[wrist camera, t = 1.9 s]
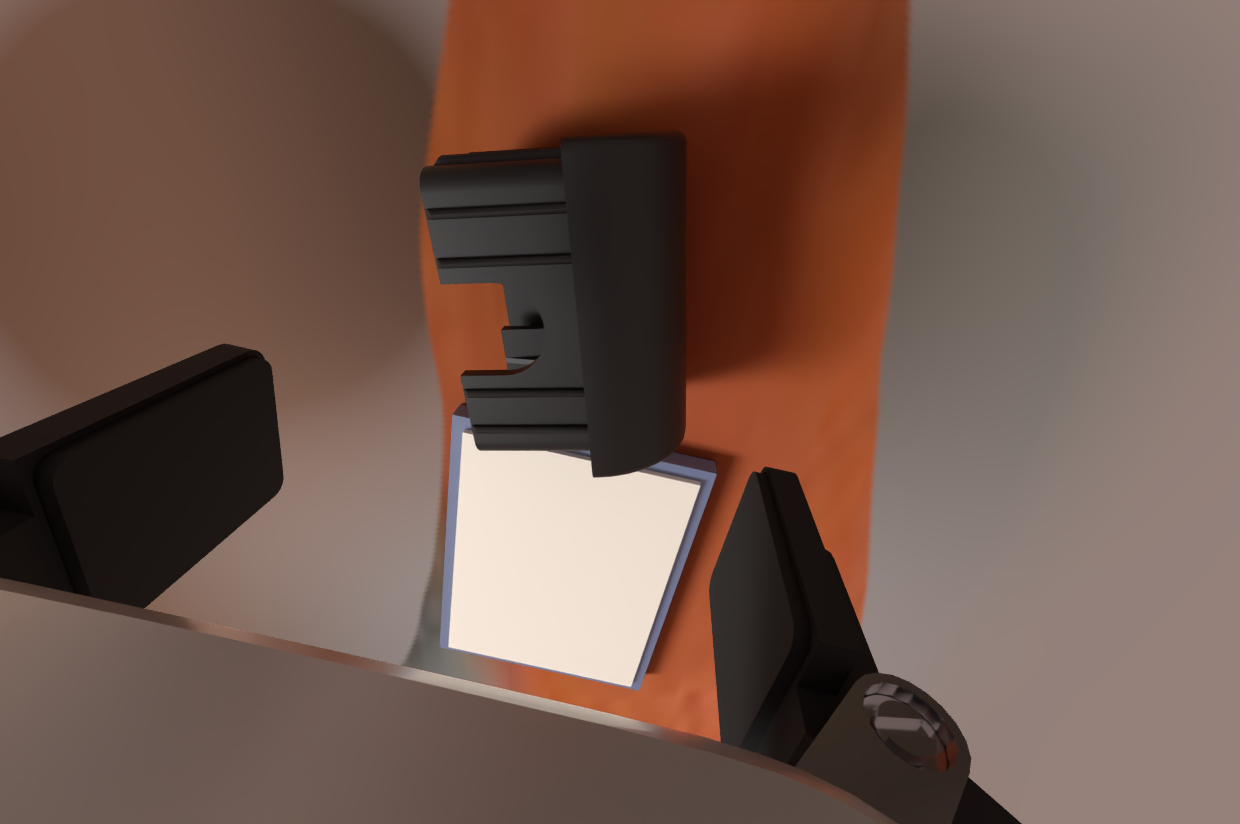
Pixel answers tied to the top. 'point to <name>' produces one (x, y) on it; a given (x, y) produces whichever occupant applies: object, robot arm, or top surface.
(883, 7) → the top surface
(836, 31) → the top surface
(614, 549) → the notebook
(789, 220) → the top surface
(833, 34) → the top surface
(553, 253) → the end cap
